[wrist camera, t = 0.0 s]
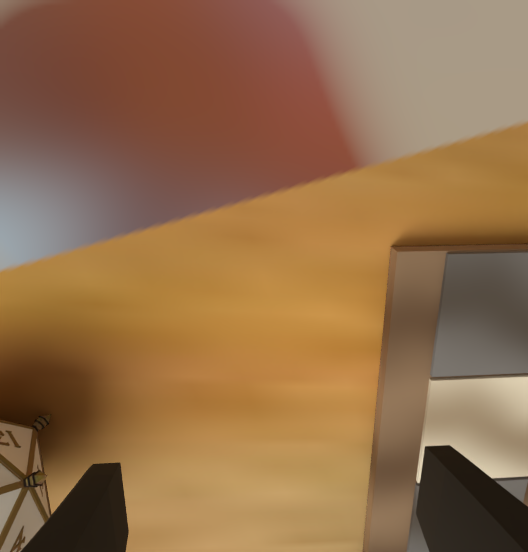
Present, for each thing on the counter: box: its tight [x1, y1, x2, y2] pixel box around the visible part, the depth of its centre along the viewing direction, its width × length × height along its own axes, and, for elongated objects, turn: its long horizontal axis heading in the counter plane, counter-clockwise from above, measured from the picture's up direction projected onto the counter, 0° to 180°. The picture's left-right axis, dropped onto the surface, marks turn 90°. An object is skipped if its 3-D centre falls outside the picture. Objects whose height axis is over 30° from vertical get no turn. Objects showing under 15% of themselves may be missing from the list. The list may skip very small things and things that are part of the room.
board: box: [363, 244, 528, 552], centre depth 24 cm, size 24×10×1 cm, turn 0°
